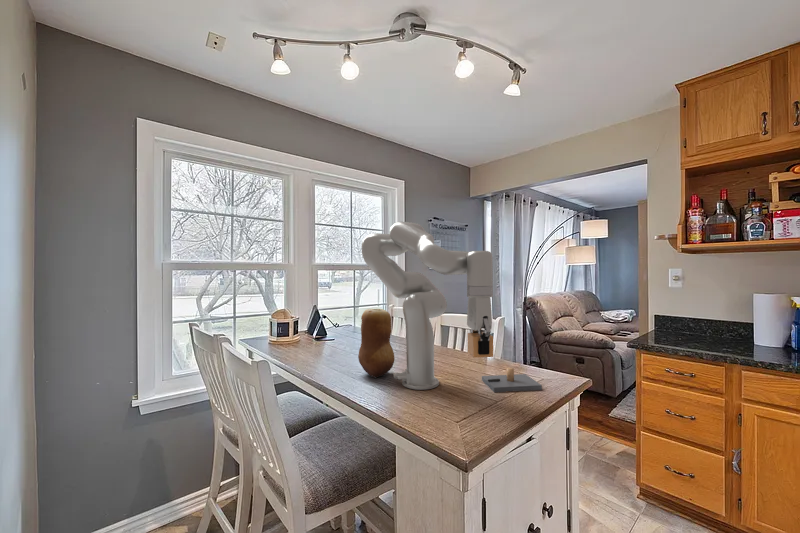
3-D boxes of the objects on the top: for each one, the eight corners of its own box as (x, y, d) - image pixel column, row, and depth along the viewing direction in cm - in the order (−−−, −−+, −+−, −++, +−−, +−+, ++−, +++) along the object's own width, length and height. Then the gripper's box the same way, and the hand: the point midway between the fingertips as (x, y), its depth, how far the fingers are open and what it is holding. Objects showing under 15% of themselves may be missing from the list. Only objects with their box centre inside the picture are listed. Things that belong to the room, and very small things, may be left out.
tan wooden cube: (473, 357, 103) (473, 337, 102) (467, 352, 108) (467, 333, 108) (493, 356, 103) (493, 336, 103) (486, 351, 109) (486, 332, 109)
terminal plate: (493, 392, 112) (493, 375, 112) (481, 380, 124) (481, 364, 124) (541, 389, 114) (541, 372, 114) (525, 378, 126) (525, 362, 126)
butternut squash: (401, 375, 132) (400, 308, 132) (375, 383, 122) (374, 312, 122) (377, 368, 141) (376, 306, 141) (350, 375, 132) (349, 309, 132)
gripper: (460, 289, 114) (460, 345, 114) (476, 294, 97) (476, 359, 97) (482, 289, 115) (482, 344, 115) (502, 293, 97) (503, 358, 98)
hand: (480, 350), depth 106 cm, fingers closed on tan wooden cube, 5 cm apart
